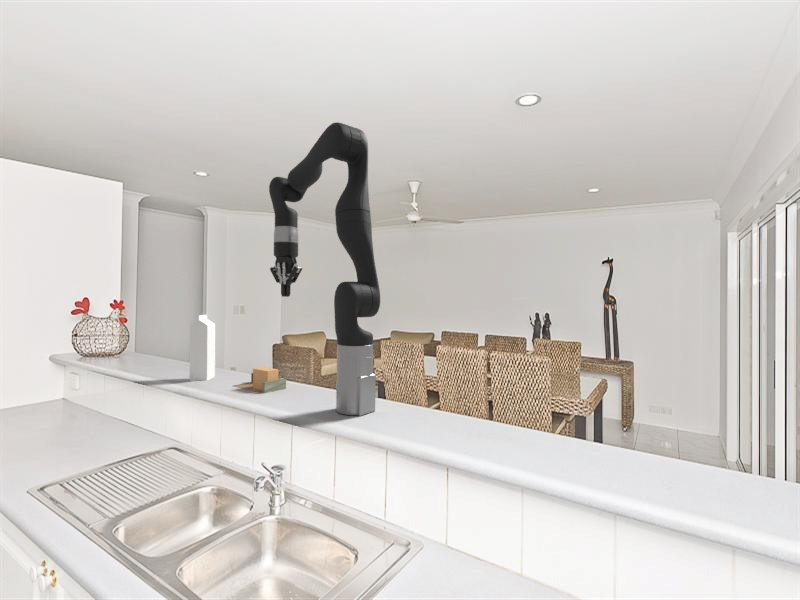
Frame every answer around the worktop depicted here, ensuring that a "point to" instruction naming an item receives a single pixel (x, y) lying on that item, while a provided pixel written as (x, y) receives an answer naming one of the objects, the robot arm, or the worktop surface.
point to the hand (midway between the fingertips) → (285, 296)
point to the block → (263, 376)
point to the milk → (202, 349)
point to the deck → (265, 385)
